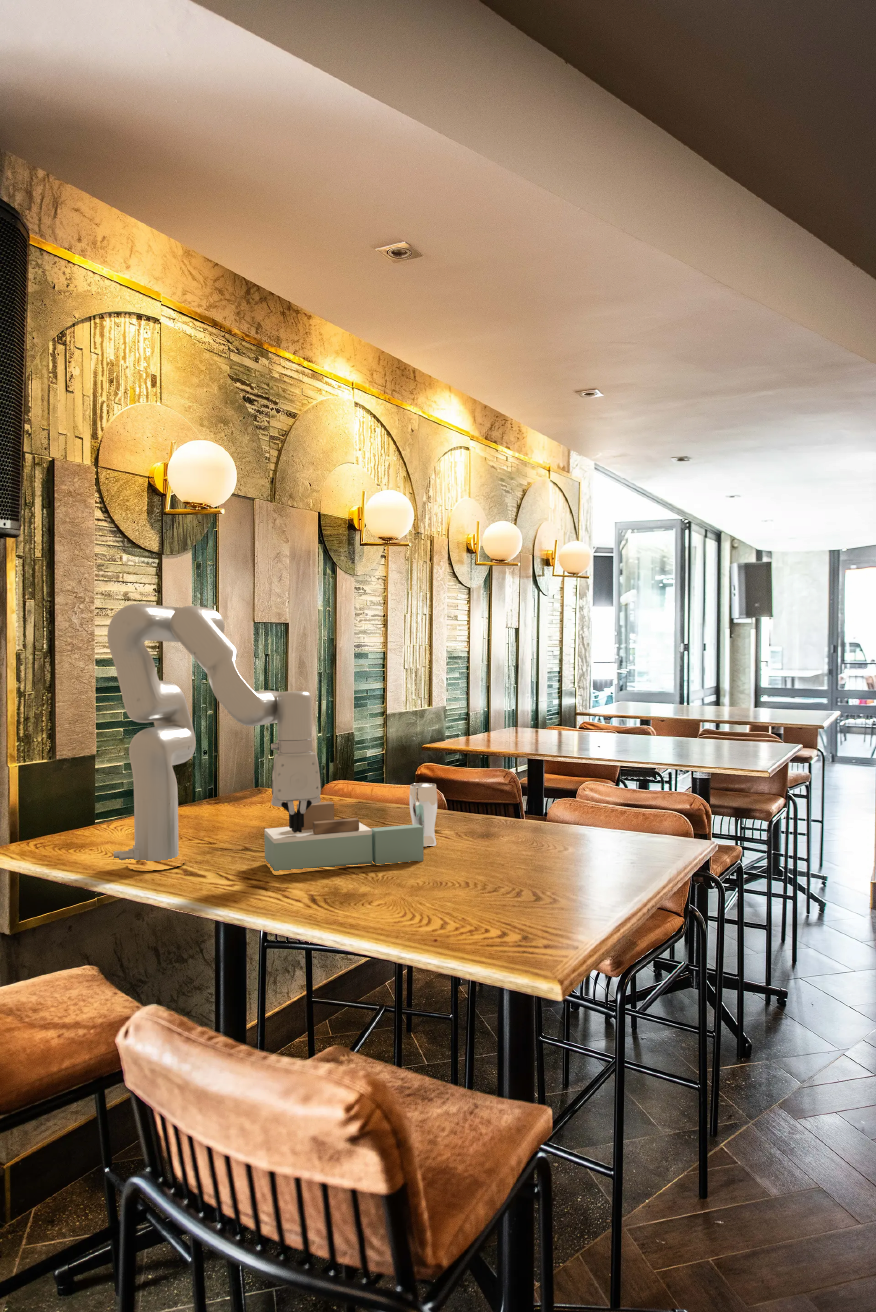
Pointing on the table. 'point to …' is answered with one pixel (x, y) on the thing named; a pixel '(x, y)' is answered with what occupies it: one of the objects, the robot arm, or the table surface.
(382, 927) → the table surface
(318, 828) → the brown rectangular block
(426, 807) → the beer glass
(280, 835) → the lid
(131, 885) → the table surface
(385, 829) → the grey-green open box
